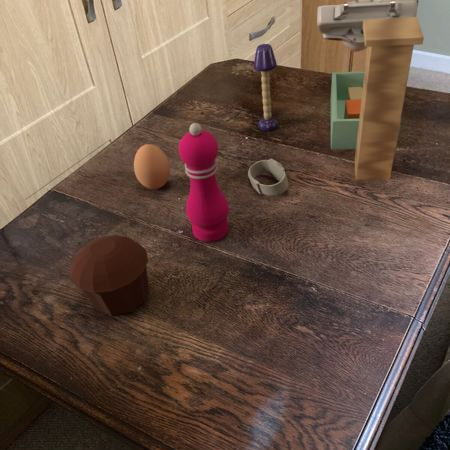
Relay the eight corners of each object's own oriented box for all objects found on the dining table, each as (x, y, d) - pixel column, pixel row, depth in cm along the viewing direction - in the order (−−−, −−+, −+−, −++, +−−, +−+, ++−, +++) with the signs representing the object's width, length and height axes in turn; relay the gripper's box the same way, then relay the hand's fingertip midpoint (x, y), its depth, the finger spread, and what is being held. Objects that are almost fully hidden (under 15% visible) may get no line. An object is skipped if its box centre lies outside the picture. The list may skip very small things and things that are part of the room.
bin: (387, 99, 112) (391, 70, 107) (395, 150, 97) (401, 119, 93) (330, 100, 114) (332, 72, 109) (330, 151, 99) (332, 121, 95)
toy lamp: (252, 127, 109) (247, 48, 97) (265, 118, 111) (262, 39, 99) (269, 133, 107) (267, 52, 94) (282, 123, 109) (281, 44, 96)
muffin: (142, 260, 83) (128, 212, 75) (167, 301, 76) (154, 253, 68) (74, 287, 80) (53, 240, 72) (94, 333, 73) (72, 286, 65)
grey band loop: (296, 191, 91) (296, 168, 88) (268, 204, 90) (267, 181, 86) (267, 170, 97) (267, 147, 93) (241, 182, 95) (239, 159, 92)
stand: (391, 165, 94) (417, 16, 75) (394, 190, 89) (423, 37, 70) (348, 165, 95) (363, 19, 76) (349, 190, 90) (365, 39, 71)
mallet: (367, 99, 112) (369, 76, 108) (375, 135, 101) (379, 112, 97) (340, 100, 112) (341, 78, 109) (345, 137, 102) (347, 114, 98)
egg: (158, 172, 100) (149, 132, 94) (180, 184, 97) (172, 143, 90) (132, 188, 97) (121, 147, 91) (153, 201, 94) (143, 159, 87)
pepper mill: (208, 249, 83) (190, 142, 68) (182, 231, 87) (160, 125, 72) (239, 229, 86) (229, 121, 71) (213, 212, 90) (198, 106, 75)
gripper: (409, 35, 110) (422, 21, 97) (316, 39, 113) (316, 27, 100) (412, 3, 108) (426, -16, 95) (317, 8, 111) (318, -9, 98)
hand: (369, 6), depth 97 cm, fingers open, 8 cm apart
